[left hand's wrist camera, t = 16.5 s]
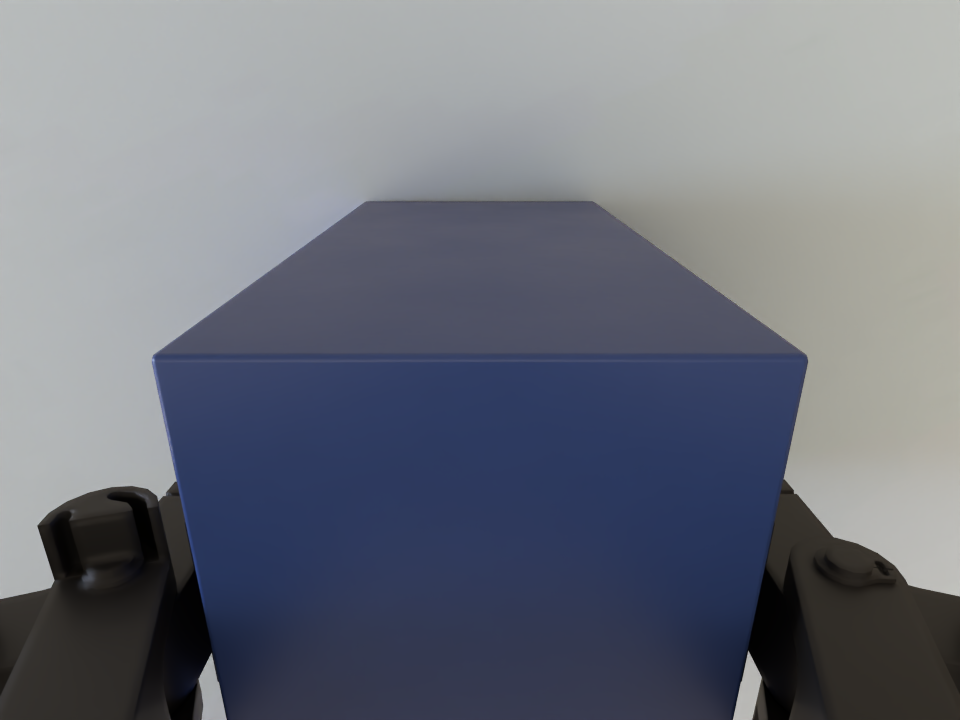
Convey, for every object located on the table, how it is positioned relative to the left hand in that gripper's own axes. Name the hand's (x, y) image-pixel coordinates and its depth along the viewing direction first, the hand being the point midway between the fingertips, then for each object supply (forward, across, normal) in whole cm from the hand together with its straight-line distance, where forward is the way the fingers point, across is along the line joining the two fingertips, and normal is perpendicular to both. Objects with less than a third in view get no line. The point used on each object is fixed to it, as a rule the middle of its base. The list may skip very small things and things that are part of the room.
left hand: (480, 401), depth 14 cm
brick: (+3, 0, 0) cm, 3 cm away
